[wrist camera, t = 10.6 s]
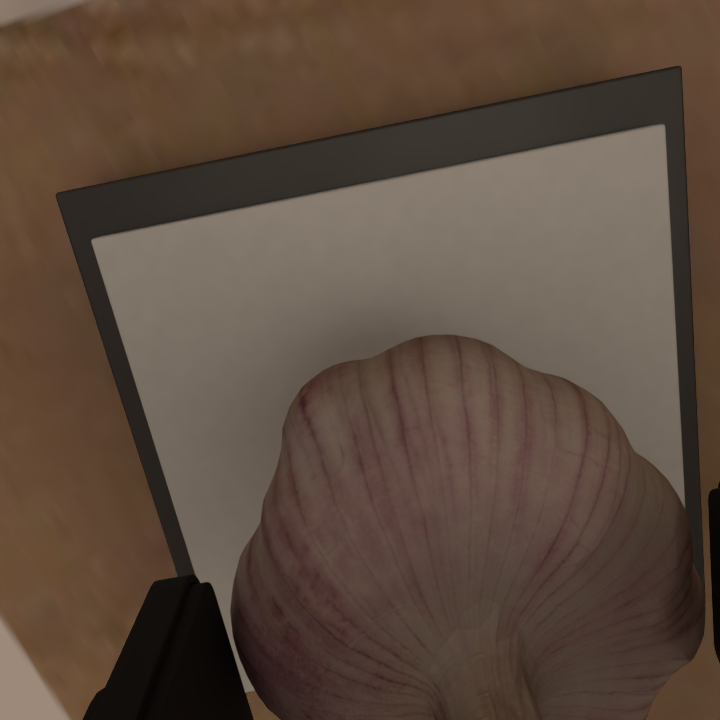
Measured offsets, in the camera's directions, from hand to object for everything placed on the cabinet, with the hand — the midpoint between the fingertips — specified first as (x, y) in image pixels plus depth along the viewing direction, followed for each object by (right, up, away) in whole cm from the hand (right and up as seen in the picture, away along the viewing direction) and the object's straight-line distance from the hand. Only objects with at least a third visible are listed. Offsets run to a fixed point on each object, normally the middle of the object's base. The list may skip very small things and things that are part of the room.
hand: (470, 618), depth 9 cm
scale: (0, +3, +9) cm, 10 cm away
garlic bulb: (0, +1, +3) cm, 3 cm away
